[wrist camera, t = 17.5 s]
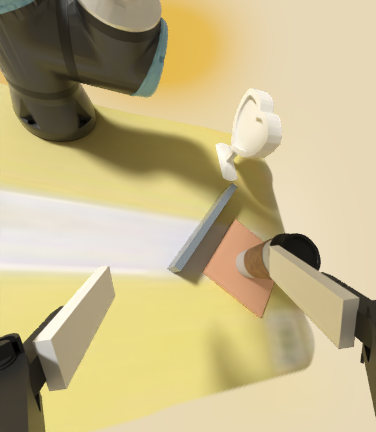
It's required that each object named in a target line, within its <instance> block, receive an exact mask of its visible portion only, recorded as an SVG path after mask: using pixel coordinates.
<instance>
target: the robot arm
mask: <svg viewBox="0 0 376 432" xmlns="http://www.w3.org/2000/svg"><path fill="white" fill-rule="evenodd" d="M167 38H168V27H167V23H166V21H165V20H164V19H163V18H161V3H160V0H0V70H1V72H2V73H3V74H4V76H5V78H6V80H7V82H8V83H9V89H10V94H11V99H12V104H13V109H14V111H15V114H16V116H17V117H18V119H19V120H20V122H21V123H22V125H23V126H24V127H25V128H26V129H27V130H28V131H30V132H31V133H32V134H34V135H36V136H38V137H41V138H43V139H47V140H51V141H60V142H65V141H73V140H77V139H80V138H82V137H84V136H86V135H87V134H89V133H90V132H91V131H92V130H93V128H94V126H95V123H96V115H95V110H94V107H93V104H92V102H91V100H90V99H89V97H88V95H87V94H86V92H85V90H84V88H83V87H82V85H81V83H83V84H87V85H91V86H95V87H100V88H104V89H108V90H111V91H116V92H119V93H123V94H128V95H130V96H141V97H150V96H152V95H153V94H154V93H155V91H156V89H157V87H158V84H159V81H160V77H161V74H162V70H163V65H164V58H165V54H166V48H167V40H168V39H167ZM269 264H270V277H271V278H272V279H273V281H274V282H275V283H276V284H277V285H278V286H279V287H280V288H281V289H282V290H283V291H284V292H285V293H286V294H287V295H288V296H289V297H290V298H291V299H292V300H293V302H294V303H295V304H296V305H297V306H298V307H299V308H300V309H301V310H302V311H303V312H304V313H305V314H306V315H307V316H308V317H309V318H310V319H311V320H312V321H313V323H314V324H315V325H316V326H317V327H318V328H319V329H320V330H321V331H322V332H323V333H324V334H325V335H326V336H327V337H328V338H329V339H330V340H331V341H332V342H333V344H334V345H335V346H336V347H337V348H338V349H342V348H349V347H354V340H355V337H356V338H358V339H359V340H360V341H361V342H362V343H363V347H362V354H361V363H364V362H365V367H366V371H367V376H368V381H369V386H370V391H371V396H372V401H373V406H374V411H375V416H376V300H370V299H369V298H367V297H365V296H364V295H362V294H361V293H359V292H358V291H356V290H354V289H353V288H351V287H350V286H347V285H346V284H345V283H343V282H341V281H340V280H338V279H337V278H335V277H333V276H331V275H329V274H326V273H324V272H321V273H320V272H319V271H317V270H316V269H314V268H313V267H311V266H310V265H308V264H307V263H305V262H303V261H302V260H300V259H299V258H297V257H296V256H294V255H293V254H291V253H290V252H288V251H287V250H285V249H283V248H282V247H280V246H279V245H276V246H269ZM114 297H115V292H114V287H113V283H112V278H111V273H110V269H109V266H101V267H98V269H97V270H96V271H95V272H94V273H93V274H92V275H91V276H90V278H89V279H88V280H87V281H86V282H85V283H84V284H83V285H82V287H81V288H80V289H79V290H78V291H77V292H76V293H75V294H74V296H73V297H72V298H71V299H70V300H69V301H68V302H67V303H66V305H65V306H61V307H59V308H58V309H56V310H55V311H54V312H52V313H51V314H50V315H49V316H48V317H47V318H46V320H45V322H43V323H42V324H41V325H40V326H39V328H37V329H36V330H35V331H34V332H33V333H32V334H31V336H30V337H29V338H28V339H27V340H26V341H25V342H24V343H23V344H22V341H21V338H20V336H19V334H16V333H13V334H8V335H5V336H3V337H0V432H45V424H44V415H43V406H42V397H41V394H40V390H41V388H42V387H43V385H44V383H45V382H46V383H47V386H48V389H49V391H54V390H61V389H66V388H67V387H68V385H69V383H70V381H71V379H72V377H73V375H74V373H75V371H76V369H77V368H78V366H79V364H80V362H81V360H82V358H83V356H84V354H85V352H86V351H87V349H88V347H89V345H90V343H91V341H92V339H93V337H94V335H95V333H96V332H97V330H98V328H99V326H100V324H101V322H102V320H103V318H104V316H105V315H106V313H107V311H108V309H109V307H110V305H111V303H112V301H113V299H114Z"/></svg>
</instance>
